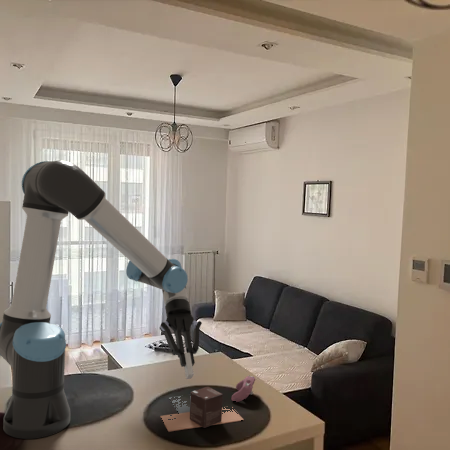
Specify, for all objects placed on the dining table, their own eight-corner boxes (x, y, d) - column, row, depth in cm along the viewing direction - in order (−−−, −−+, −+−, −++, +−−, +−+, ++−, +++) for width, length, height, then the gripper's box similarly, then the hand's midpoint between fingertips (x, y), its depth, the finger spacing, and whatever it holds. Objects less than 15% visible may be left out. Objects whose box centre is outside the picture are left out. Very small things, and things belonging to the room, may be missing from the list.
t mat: (151, 400, 129) (151, 399, 129) (218, 392, 137) (218, 391, 137) (168, 431, 112) (168, 430, 112) (243, 420, 120) (243, 419, 120)
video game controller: (243, 409, 130) (255, 389, 129) (229, 400, 131) (241, 380, 130) (248, 395, 140) (259, 376, 139) (235, 386, 140) (246, 367, 139)
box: (222, 422, 118) (223, 393, 118) (203, 429, 114) (205, 399, 114) (206, 413, 123) (208, 385, 122) (188, 419, 119) (190, 391, 118)
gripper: (193, 310, 149) (208, 380, 135) (153, 310, 144) (164, 384, 130) (200, 297, 144) (215, 368, 130) (159, 297, 139) (170, 372, 125)
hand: (190, 376), depth 130 cm, fingers closed
